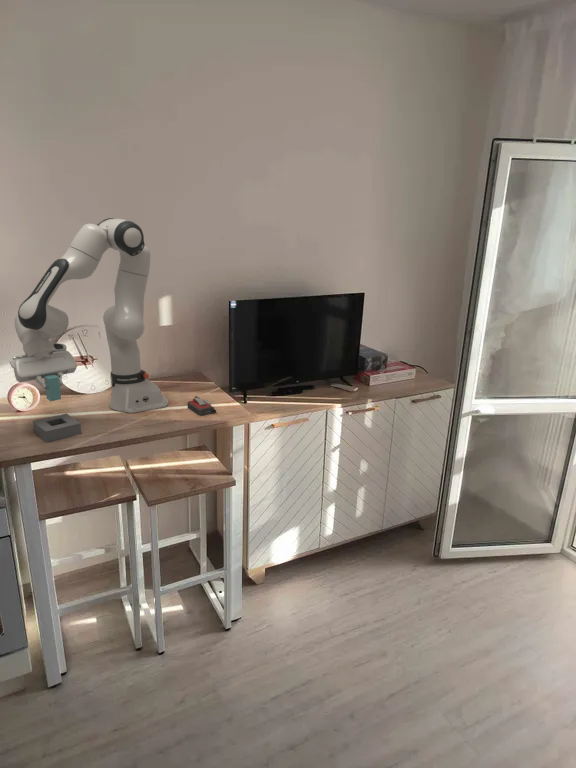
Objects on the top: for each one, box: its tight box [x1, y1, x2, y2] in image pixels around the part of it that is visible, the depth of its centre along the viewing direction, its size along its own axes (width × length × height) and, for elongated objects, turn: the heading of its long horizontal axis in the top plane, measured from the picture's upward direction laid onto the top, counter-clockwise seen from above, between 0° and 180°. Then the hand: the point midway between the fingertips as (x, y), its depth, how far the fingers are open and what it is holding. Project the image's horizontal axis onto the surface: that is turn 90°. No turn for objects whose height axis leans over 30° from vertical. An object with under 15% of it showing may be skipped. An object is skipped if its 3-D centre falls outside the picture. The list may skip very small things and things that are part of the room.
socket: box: [32, 413, 82, 443], centre depth 203 cm, size 12×12×4 cm
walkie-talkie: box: [186, 395, 217, 417], centre depth 230 cm, size 9×4×20 cm
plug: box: [43, 375, 62, 402], centre depth 198 cm, size 4×4×8 cm
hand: (53, 386), depth 197 cm, fingers closed on plug, 4 cm apart
